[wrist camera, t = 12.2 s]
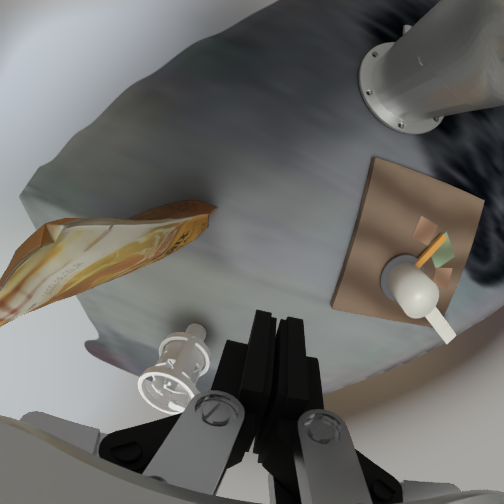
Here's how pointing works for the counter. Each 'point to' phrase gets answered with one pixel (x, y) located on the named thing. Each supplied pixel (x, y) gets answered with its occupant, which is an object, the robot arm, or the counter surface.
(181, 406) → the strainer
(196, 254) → the counter surface
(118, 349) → the counter surface
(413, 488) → the robot arm
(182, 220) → the pancake mix bag
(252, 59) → the counter surface
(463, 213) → the brown square board
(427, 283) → the white handled piece
